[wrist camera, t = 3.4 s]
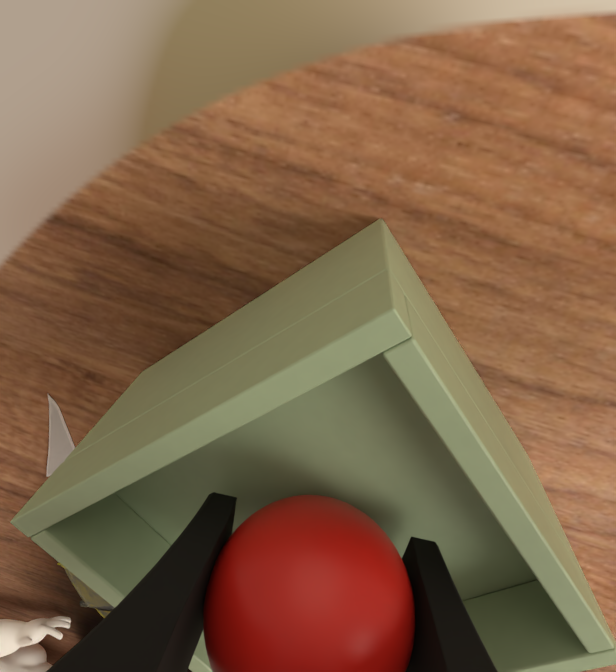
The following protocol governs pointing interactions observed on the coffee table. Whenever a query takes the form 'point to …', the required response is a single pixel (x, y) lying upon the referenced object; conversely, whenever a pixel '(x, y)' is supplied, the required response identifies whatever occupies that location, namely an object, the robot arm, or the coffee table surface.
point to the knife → (57, 438)
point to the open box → (331, 454)
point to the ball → (309, 593)
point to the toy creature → (27, 643)
